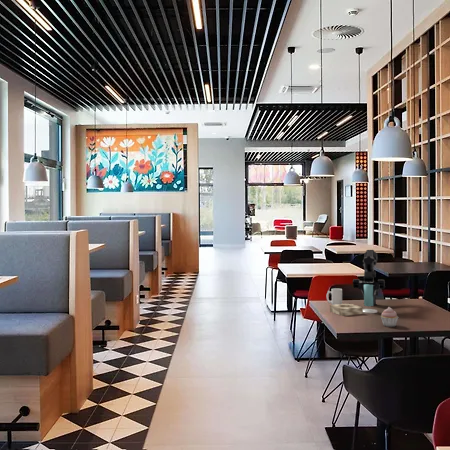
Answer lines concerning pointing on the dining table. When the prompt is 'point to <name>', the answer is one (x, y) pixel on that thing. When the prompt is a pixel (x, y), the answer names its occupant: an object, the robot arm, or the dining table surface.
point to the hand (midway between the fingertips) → (368, 295)
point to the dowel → (368, 295)
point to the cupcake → (389, 317)
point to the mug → (335, 296)
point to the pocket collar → (346, 309)
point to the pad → (369, 311)
